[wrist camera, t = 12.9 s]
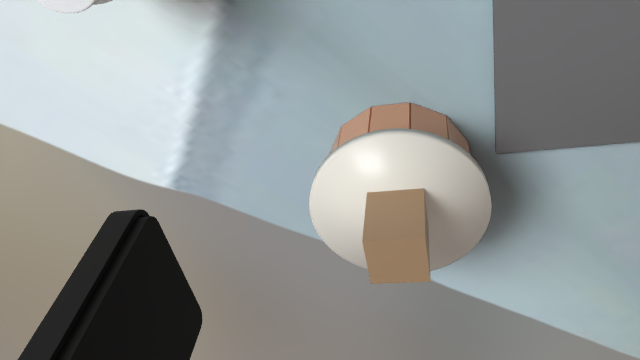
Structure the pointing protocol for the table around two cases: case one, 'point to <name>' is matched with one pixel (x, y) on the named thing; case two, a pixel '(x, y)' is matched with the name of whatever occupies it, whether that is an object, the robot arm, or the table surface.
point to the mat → (566, 73)
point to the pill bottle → (70, 5)
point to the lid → (400, 203)
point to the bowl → (400, 123)
